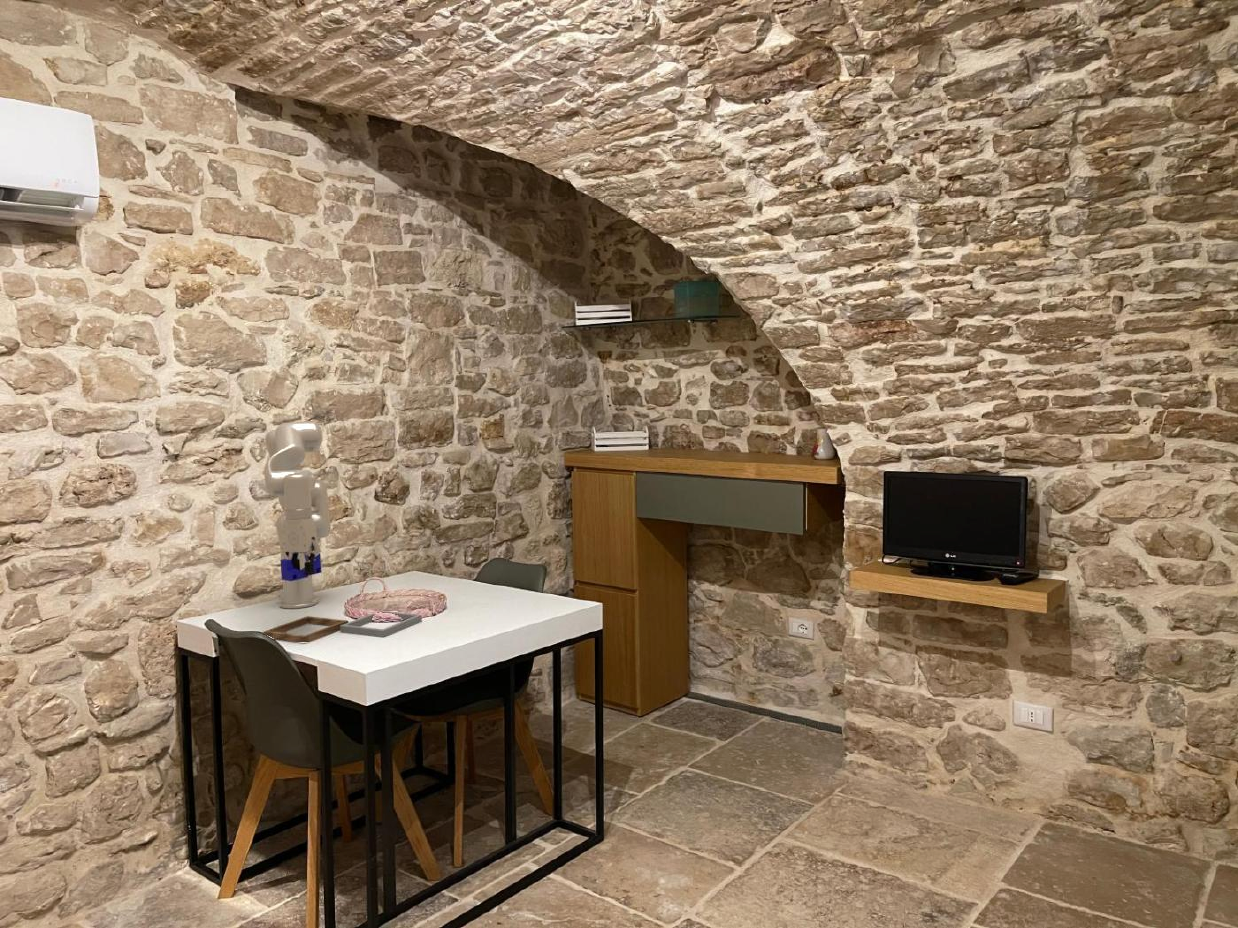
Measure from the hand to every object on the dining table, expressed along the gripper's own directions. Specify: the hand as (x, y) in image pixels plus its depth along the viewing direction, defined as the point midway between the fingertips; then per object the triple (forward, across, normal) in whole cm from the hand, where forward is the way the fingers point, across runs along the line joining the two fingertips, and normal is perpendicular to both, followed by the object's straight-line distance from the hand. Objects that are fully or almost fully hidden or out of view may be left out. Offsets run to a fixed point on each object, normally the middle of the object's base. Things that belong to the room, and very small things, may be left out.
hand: (302, 573), depth 288 cm
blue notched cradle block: (+1, 0, 0) cm, 1 cm away
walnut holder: (+18, 0, 0) cm, 18 cm away
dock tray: (+18, +18, +13) cm, 29 cm away
